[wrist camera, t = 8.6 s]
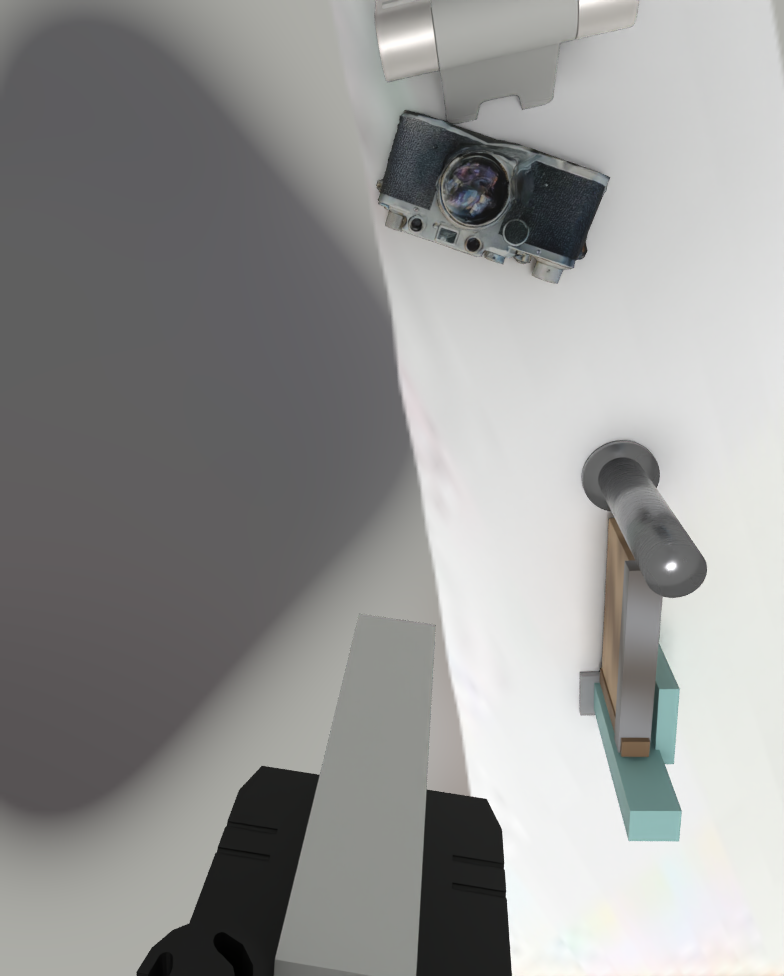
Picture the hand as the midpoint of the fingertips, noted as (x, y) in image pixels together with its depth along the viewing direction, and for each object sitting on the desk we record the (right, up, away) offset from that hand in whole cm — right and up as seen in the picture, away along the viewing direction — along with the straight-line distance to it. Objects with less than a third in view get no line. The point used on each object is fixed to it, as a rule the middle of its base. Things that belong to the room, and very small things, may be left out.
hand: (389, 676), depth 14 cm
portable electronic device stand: (+4, +24, +16) cm, 30 cm away
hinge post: (+12, +4, +23) cm, 27 cm away
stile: (+14, -7, +28) cm, 32 cm away
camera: (+5, +18, +19) cm, 27 cm away
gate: (+13, -3, +26) cm, 29 cm away
